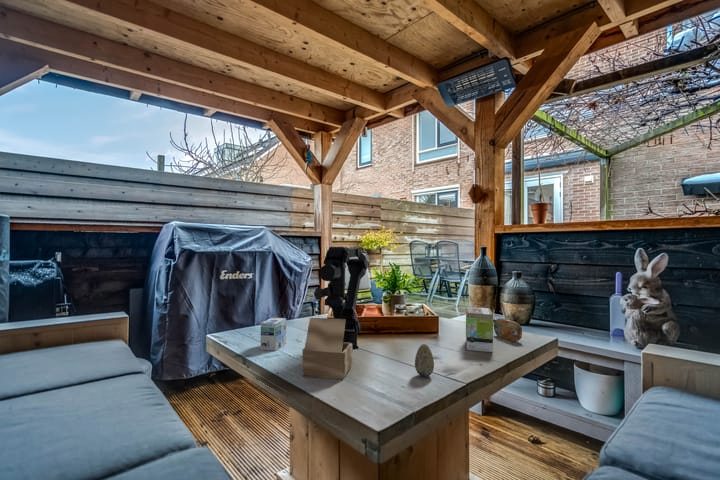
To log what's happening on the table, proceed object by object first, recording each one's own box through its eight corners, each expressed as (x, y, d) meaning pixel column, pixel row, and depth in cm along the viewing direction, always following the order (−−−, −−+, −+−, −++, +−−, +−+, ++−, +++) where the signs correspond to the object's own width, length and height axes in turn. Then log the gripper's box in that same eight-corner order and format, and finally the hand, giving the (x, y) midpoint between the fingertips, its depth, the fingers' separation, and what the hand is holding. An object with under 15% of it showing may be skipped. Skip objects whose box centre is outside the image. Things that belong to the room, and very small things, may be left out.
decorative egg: (424, 381, 104) (424, 348, 104) (410, 375, 109) (410, 343, 109) (438, 377, 108) (438, 344, 108) (424, 371, 113) (423, 340, 113)
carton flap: (310, 318, 114) (310, 317, 114) (345, 319, 111) (345, 319, 111) (304, 350, 109) (304, 350, 108) (341, 352, 106) (341, 352, 106)
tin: (493, 335, 158) (493, 316, 158) (499, 334, 159) (498, 316, 159) (517, 344, 144) (517, 323, 144) (523, 343, 145) (523, 323, 145)
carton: (314, 363, 120) (314, 340, 120) (353, 366, 117) (353, 342, 117) (301, 376, 109) (301, 350, 109) (344, 379, 106) (344, 352, 106)
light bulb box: (275, 351, 135) (275, 323, 135) (259, 350, 136) (259, 322, 136) (286, 343, 145) (286, 317, 145) (272, 342, 147) (272, 317, 147)
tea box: (494, 352, 132) (493, 313, 132) (466, 350, 135) (466, 312, 135) (490, 342, 147) (490, 307, 147) (465, 340, 149) (465, 306, 150)
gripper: (320, 278, 138) (319, 318, 137) (310, 281, 120) (309, 326, 118) (348, 279, 137) (347, 319, 136) (342, 281, 119) (341, 327, 118)
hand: (336, 322), depth 127 cm, fingers closed
